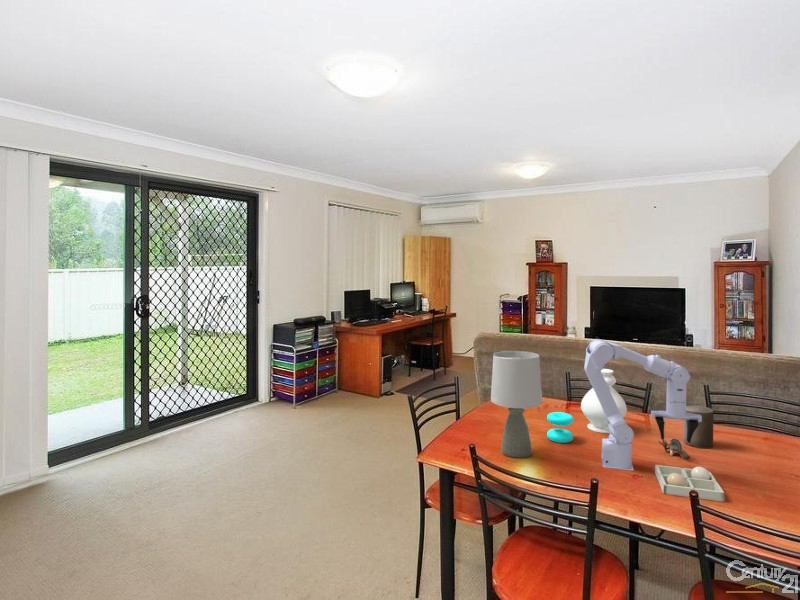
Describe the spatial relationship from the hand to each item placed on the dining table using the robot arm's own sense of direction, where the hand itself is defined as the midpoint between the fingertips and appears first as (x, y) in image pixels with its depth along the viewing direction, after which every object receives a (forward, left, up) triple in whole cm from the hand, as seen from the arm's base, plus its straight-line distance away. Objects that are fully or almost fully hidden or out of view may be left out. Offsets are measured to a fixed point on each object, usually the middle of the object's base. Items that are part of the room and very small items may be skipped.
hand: (675, 440), depth 155 cm
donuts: (-37, +17, -10) cm, 42 cm away
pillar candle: (+13, +28, -10) cm, 32 cm away
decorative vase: (-20, +36, -10) cm, 42 cm away
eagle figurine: (+2, +13, -10) cm, 17 cm away
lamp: (-52, -2, -10) cm, 53 cm away
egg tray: (+1, -14, -10) cm, 17 cm away
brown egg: (-3, -18, -10) cm, 20 cm away
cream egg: (+4, -10, -9) cm, 15 cm away
